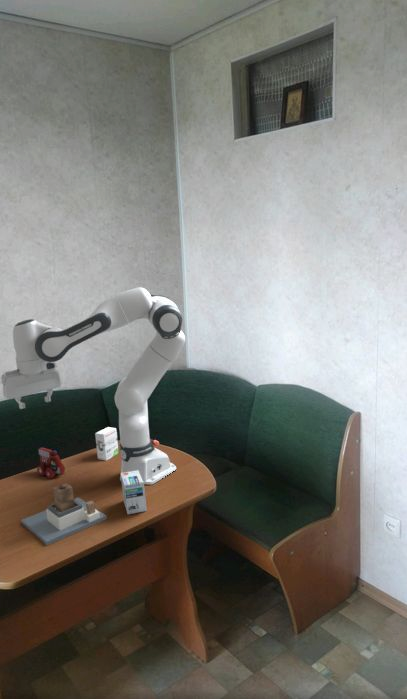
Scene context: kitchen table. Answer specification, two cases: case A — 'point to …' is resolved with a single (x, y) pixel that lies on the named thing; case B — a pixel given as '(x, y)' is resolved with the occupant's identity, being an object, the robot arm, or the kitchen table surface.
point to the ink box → (106, 443)
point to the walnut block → (63, 497)
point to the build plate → (53, 531)
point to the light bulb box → (133, 492)
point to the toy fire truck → (49, 463)
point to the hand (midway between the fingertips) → (35, 404)
